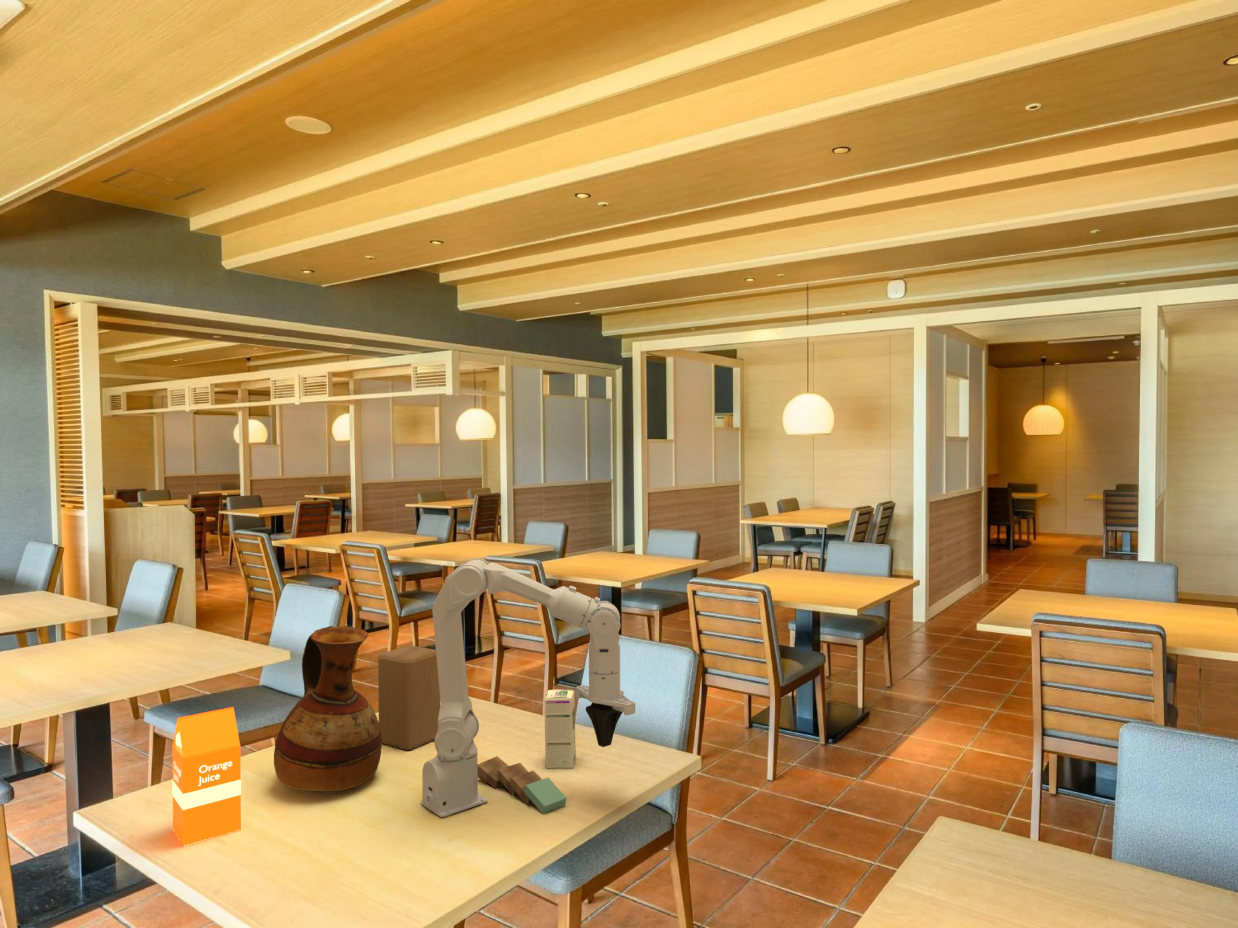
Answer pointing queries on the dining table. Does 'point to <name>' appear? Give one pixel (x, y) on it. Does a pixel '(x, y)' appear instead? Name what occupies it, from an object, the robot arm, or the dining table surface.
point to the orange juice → (206, 776)
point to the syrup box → (560, 729)
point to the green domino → (545, 795)
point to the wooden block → (408, 696)
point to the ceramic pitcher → (329, 720)
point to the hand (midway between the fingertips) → (604, 744)
